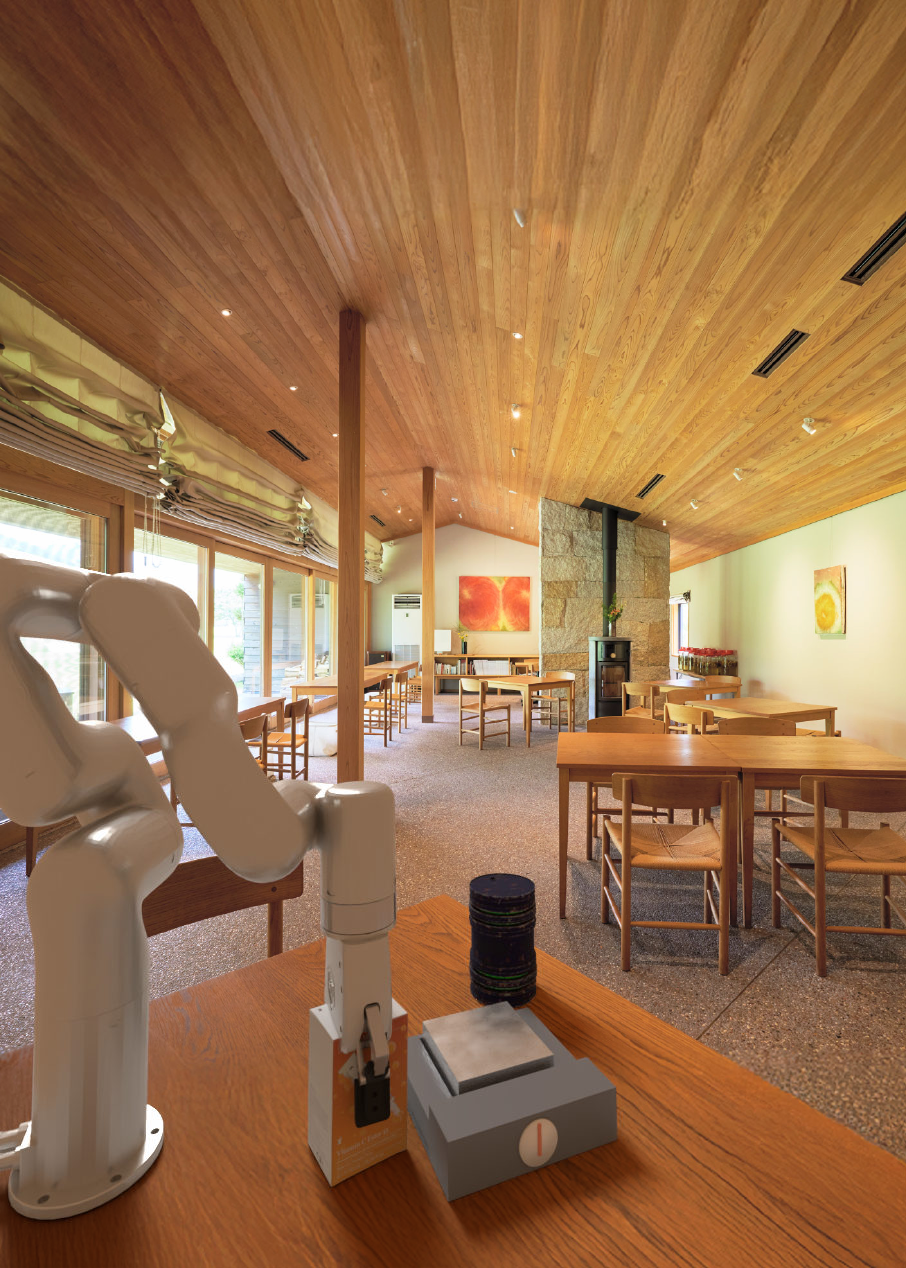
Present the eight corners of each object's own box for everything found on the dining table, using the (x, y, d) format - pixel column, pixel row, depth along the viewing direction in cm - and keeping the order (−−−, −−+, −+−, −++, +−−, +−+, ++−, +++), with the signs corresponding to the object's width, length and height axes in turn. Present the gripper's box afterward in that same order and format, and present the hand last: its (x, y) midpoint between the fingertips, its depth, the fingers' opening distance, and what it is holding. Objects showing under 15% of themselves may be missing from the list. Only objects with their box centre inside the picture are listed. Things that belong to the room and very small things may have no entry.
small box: (331, 1190, 53) (331, 1040, 54) (306, 1143, 59) (307, 1007, 59) (409, 1149, 58) (409, 1011, 59) (380, 1109, 63) (380, 983, 64)
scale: (450, 1206, 52) (450, 1146, 52) (391, 1072, 69) (391, 1027, 69) (620, 1143, 58) (619, 1090, 59) (528, 1035, 76) (527, 995, 76)
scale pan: (458, 1113, 59) (458, 1082, 59) (422, 1047, 69) (422, 1021, 70) (554, 1083, 63) (553, 1054, 64) (506, 1026, 74) (506, 1001, 74)
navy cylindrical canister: (551, 998, 84) (549, 890, 85) (490, 1016, 80) (489, 902, 81) (514, 966, 93) (513, 869, 94) (457, 980, 89) (457, 878, 90)
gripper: (307, 886, 66) (308, 1045, 65) (338, 954, 50) (339, 1167, 49) (373, 876, 69) (375, 1028, 68) (422, 938, 53) (425, 1139, 52)
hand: (360, 1086), depth 59 cm, fingers open, 9 cm apart
